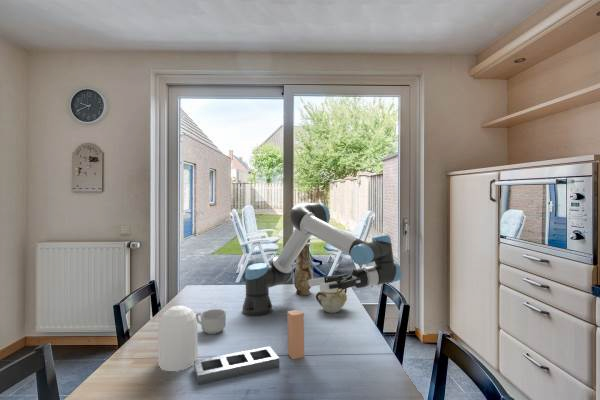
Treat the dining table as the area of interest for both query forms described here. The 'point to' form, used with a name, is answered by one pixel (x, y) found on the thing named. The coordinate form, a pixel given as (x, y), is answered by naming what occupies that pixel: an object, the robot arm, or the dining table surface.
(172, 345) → the container
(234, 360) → the rail
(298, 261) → the vase
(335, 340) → the dining table surface
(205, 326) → the teacup
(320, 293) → the sugar bowl
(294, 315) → the post
